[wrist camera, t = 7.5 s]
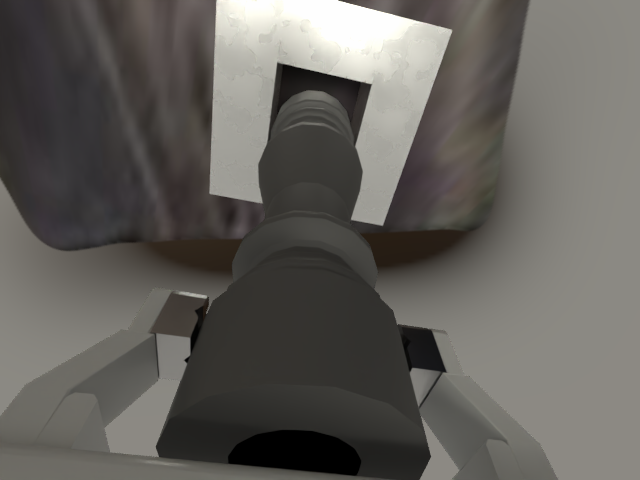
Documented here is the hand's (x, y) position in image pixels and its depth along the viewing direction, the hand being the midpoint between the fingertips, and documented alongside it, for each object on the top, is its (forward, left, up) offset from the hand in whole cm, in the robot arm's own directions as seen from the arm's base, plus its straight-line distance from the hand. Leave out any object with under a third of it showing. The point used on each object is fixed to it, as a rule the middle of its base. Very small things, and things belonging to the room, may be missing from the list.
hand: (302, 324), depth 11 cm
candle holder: (0, 0, -21) cm, 21 cm away
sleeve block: (0, 0, -31) cm, 31 cm away
